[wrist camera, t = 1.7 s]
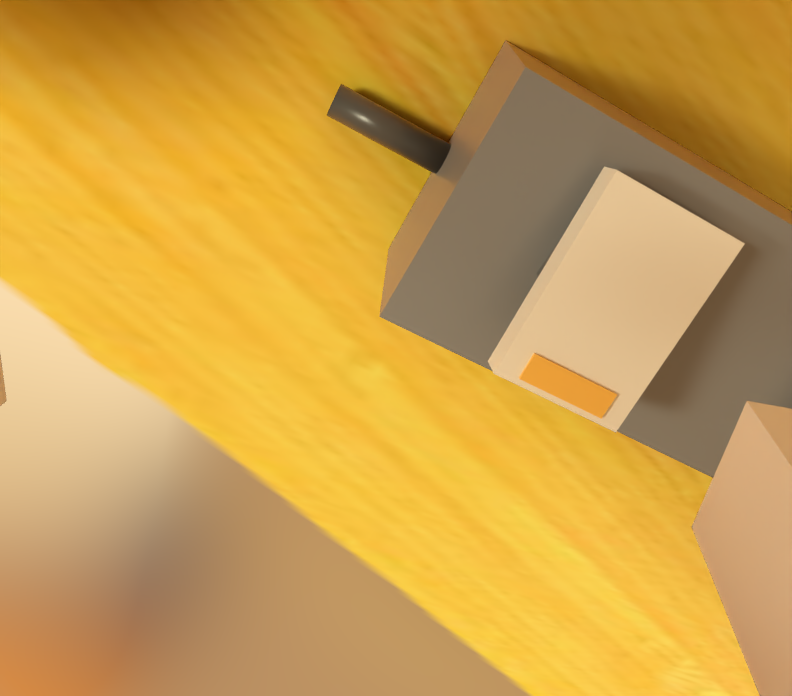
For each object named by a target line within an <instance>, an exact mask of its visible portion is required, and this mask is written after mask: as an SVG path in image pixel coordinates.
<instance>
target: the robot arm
mask: <svg viewBox="0 0 792 696" xmlns="http://www.w3.org/2000/svg"><path fill="white" fill-rule="evenodd" d="M5 402H6V393H5V386H4V378H3V371H2V363H1V356H0V406H1V405H2V404H3V403H5ZM692 529H693V532H694V534H695V537H696V539H697V542H698V544H699V547H700V549H701V552H702V554H703V557H704V559H705V561H706V564H707V566H708V569H709V571H710V574H711V576H712V579H713V581H714V584H715V586H716V589H717V591H718V594H719V596H720V598H721V601H722V603H723V606H724V608H725V611H726V613H727V616H728V618H729V621H730V623H731V626H732V628H733V631H734V633H735V636H736V638H737V640H738V643H739V645H740V648H741V650H742V653H743V655H744V658H745V660H746V663H747V665H748V668H749V670H750V673H751V675H752V677H753V680H754V682H755V685H756V687H757V690H758V692H759V695H760V696H792V409H790V408H785V407H779V406H774V405H768V404H762V403H757V402H751V401H747V402H746V404H745V406H744V408H743V411H742V413H741V415H740V418H739V420H738V422H737V424H736V427H735V429H734V431H733V434H732V436H731V438H730V440H729V443H728V445H727V447H726V450H725V452H724V454H723V456H722V459H721V461H720V463H719V466H718V468H717V470H716V472H715V475H714V477H713V479H712V482H711V484H710V486H709V488H708V491H707V493H706V495H705V498H704V500H703V502H702V504H701V507H700V509H699V511H698V514H697V516H696V518H695V521H694V523H693V525H692Z"/></svg>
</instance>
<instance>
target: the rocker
mask: <svg viewBox="0 0 792 696" xmlns="http://www.w3.org/2000/svg"><path fill="white" fill-rule="evenodd" d="M744 244H745V243H743V242H741V241H740V240H738V239H736V238H734V237H733V236H731V235H729V234H727V233H726V232H724V231H722V230H720V229H719V228H717V227H715V226H714V225H712V224H710V223H708V222H707V221H705V220H703V219H701V218H700V217H698V216H696V215H694V214H693V213H691V212H689V211H687V210H686V209H684V208H682V207H681V206H679V205H677V204H675V203H674V202H672V201H670V200H668V199H667V198H665V197H663V196H661V195H660V194H658V193H656V192H655V191H653V190H651V189H649V188H648V187H646V186H644V185H642V184H641V183H639V182H637V181H635V180H634V179H632V178H630V177H629V176H627V175H625V174H623V173H622V172H620V171H618V170H616V169H612V168H608V167H605V166H604V168H603V169H602V171H601V173H600V174H599V176H598V178H597V179H596V181H595V183H594V184H593V186H592V188H591V189H590V191H589V193H588V194H587V196H586V198H585V199H584V201H583V203H582V205H581V206H580V208H579V210H578V211H577V213H576V215H575V216H574V218H573V220H572V221H571V223H570V225H569V226H568V228H567V230H566V231H565V233H564V235H563V236H562V238H561V240H560V241H559V243H558V245H557V246H556V248H555V250H554V251H553V253H552V255H551V256H550V258H549V260H548V261H547V263H546V265H545V266H544V268H543V270H542V271H541V273H540V275H539V276H538V278H537V280H536V281H535V283H534V285H533V286H532V288H531V290H530V291H529V293H528V295H527V296H526V298H525V300H524V301H523V303H522V305H521V306H520V308H519V310H518V311H517V313H516V315H515V316H514V318H513V320H512V321H511V323H510V325H509V327H508V328H507V330H506V332H505V333H504V335H503V337H502V338H501V340H500V342H499V343H498V345H497V347H496V348H495V350H494V352H493V353H492V355H491V357H490V358H489V360H488V363H489V365H490V367H491V369H492V371H493V373H494V374H496V375H498V376H500V377H502V378H504V379H506V380H508V381H510V382H512V383H514V384H516V385H519V386H521V387H523V388H525V389H527V390H529V391H531V392H533V393H535V394H537V395H539V396H541V397H543V398H545V399H548V400H550V401H552V402H554V403H556V404H558V405H560V406H562V407H564V408H566V409H568V410H570V411H572V412H574V413H577V414H579V415H581V416H583V417H585V418H587V419H589V420H591V421H593V422H595V423H597V424H599V425H601V426H603V427H606V428H608V429H610V430H612V431H614V432H617V430H618V429H619V427H620V426H621V424H622V423H623V421H624V420H625V418H626V417H627V415H628V414H629V413H630V411H631V410H632V408H633V407H634V405H635V404H636V402H637V401H638V399H639V398H640V396H641V395H642V393H643V392H644V391H645V389H646V388H647V386H648V385H649V383H650V382H651V380H652V379H653V377H654V376H655V374H656V373H657V372H658V370H659V369H660V367H661V366H662V364H663V363H664V361H665V360H666V358H667V357H668V355H669V354H670V353H671V351H672V350H673V348H674V347H675V345H676V344H677V342H678V341H679V339H680V338H681V336H682V335H683V334H684V332H685V331H686V329H687V328H688V326H689V325H690V323H691V322H692V320H693V319H694V317H695V316H696V314H697V313H698V312H699V310H700V309H701V307H702V306H703V304H704V303H705V301H706V300H707V298H708V297H709V295H710V294H711V293H712V291H713V290H714V288H715V287H716V285H717V284H718V282H719V281H720V279H721V278H722V276H723V275H724V274H725V272H726V271H727V269H728V268H729V266H730V265H731V263H732V262H733V260H734V259H735V257H736V256H737V254H738V253H739V252H740V250H741V249H742V247H743V246H744Z"/></svg>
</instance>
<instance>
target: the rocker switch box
mask: <svg viewBox="0 0 792 696" xmlns="http://www.w3.org/2000/svg"><path fill="white" fill-rule="evenodd" d="M327 116H329V117H331V118H333V119H335V120H336V121H338V122H340V123H342V124H344V125H346V126H348V127H349V128H351V129H353V130H355V131H357V132H359V133H360V134H362V135H364V136H366V137H368V138H370V139H372V140H373V141H375V142H377V143H379V144H381V145H383V146H385V147H386V148H388V149H390V150H392V151H394V152H396V153H398V154H399V155H401V156H403V157H405V158H407V159H409V160H410V161H412V162H414V163H416V164H418V165H420V166H422V167H423V168H425V169H427V170H429V171H431V172H432V173H431V174H430V176H429V178H428V180H427V182H426V183H425V185H424V187H423V189H422V191H421V192H420V194H419V196H418V198H417V199H416V201H415V203H414V205H413V207H412V208H411V210H410V212H409V214H408V216H407V217H406V219H405V221H404V223H403V224H402V226H401V228H400V230H399V232H398V233H397V235H396V237H395V239H394V240H393V242H392V244H391V246H390V248H389V251H388V258H387V266H386V273H385V280H384V287H383V294H382V302H381V309H380V317H382V318H384V319H386V320H388V321H390V322H392V323H394V324H396V325H398V326H400V327H402V328H404V329H406V330H409V331H411V332H413V333H415V334H417V335H419V336H421V337H423V338H425V339H427V340H429V341H431V342H433V343H435V344H438V345H440V346H442V347H444V348H446V349H448V350H450V351H452V352H454V353H456V354H458V355H460V356H462V357H464V358H466V359H469V360H471V361H473V362H475V363H477V364H479V365H481V366H483V367H485V368H487V369H489V370H491V371H492V369H491V367H490V365H489V363H488V360H489V358H490V357H491V355H492V353H493V352H494V350H495V348H496V347H497V345H498V343H499V342H500V340H501V338H502V337H503V335H504V333H505V332H506V330H507V328H508V327H509V325H510V323H511V321H512V320H513V318H514V316H515V315H516V313H517V311H518V310H519V308H520V306H521V305H522V303H523V301H524V300H525V298H526V296H527V295H528V293H529V291H530V290H531V288H532V286H533V285H534V283H535V281H536V280H537V278H538V276H539V275H540V273H541V271H542V270H543V268H544V266H545V265H546V263H547V261H548V260H549V258H550V256H551V255H552V253H553V251H554V250H555V248H556V246H557V245H558V243H559V241H560V240H561V238H562V236H563V235H564V233H565V231H566V230H567V228H568V226H569V225H570V223H571V221H572V220H573V218H574V216H575V215H576V213H577V211H578V210H579V208H580V206H581V205H582V203H583V201H584V199H585V198H586V196H587V194H588V193H589V191H590V189H591V188H592V186H593V184H594V183H595V181H596V179H597V178H598V176H599V174H600V173H601V171H602V169H603V168H604V166H605V167H608V168H612V169H616V170H618V171H620V172H622V173H623V174H625V175H627V176H629V177H630V178H632V179H634V180H635V181H637V182H639V183H641V184H642V185H644V186H646V187H648V188H649V189H651V190H653V191H655V192H656V193H658V194H660V195H661V196H663V197H665V198H667V199H668V200H670V201H672V202H674V203H675V204H677V205H679V206H681V207H682V208H684V209H686V210H687V211H689V212H691V213H693V214H694V215H696V216H698V217H700V218H701V219H703V220H705V221H707V222H708V223H710V224H712V225H714V226H715V227H717V228H719V229H720V230H722V231H724V232H726V233H727V234H729V235H731V236H733V237H734V238H736V239H738V240H740V241H741V242H743V243H745V244H744V246H743V247H742V249H741V250H740V252H739V253H738V254H737V256H736V257H735V259H734V260H733V262H732V263H731V265H730V266H729V268H728V269H727V271H726V272H725V274H724V275H723V276H722V278H721V279H720V281H719V282H718V284H717V285H716V287H715V288H714V290H713V291H712V293H711V294H710V295H709V297H708V298H707V300H706V301H705V303H704V304H703V306H702V307H701V309H700V310H699V312H698V313H697V314H696V316H695V317H694V319H693V320H692V322H691V323H690V325H689V326H688V328H687V329H686V331H685V332H684V334H683V335H682V336H681V338H680V339H679V341H678V342H677V344H676V345H675V347H674V348H673V350H672V351H671V353H670V354H669V355H668V357H667V358H666V360H665V361H664V363H663V364H662V366H661V367H660V369H659V370H658V372H657V373H656V374H655V376H654V377H653V379H652V380H651V382H650V383H649V385H648V386H647V388H646V389H645V391H644V392H643V393H642V395H641V396H640V398H639V399H638V401H637V402H636V404H635V405H634V407H633V408H632V410H631V411H630V413H629V414H628V415H627V417H626V418H625V420H624V421H623V423H622V424H621V426H620V427H619V429H618V430H617V431H618V432H620V433H622V434H624V435H626V436H628V437H630V438H632V439H634V440H636V441H638V442H640V443H642V444H644V445H647V446H649V447H651V448H653V449H655V450H657V451H659V452H661V453H663V454H665V455H667V456H669V457H671V458H673V459H676V460H678V461H680V462H682V463H684V464H686V465H688V466H690V467H692V468H694V469H696V470H698V471H700V472H702V473H705V474H707V475H709V476H711V477H714V475H715V472H716V470H717V468H718V466H719V463H720V461H721V459H722V456H723V454H724V452H725V450H726V447H727V445H728V443H729V440H730V438H731V436H732V434H733V431H734V429H735V427H736V424H737V422H738V420H739V418H740V415H741V413H742V411H743V408H744V406H745V404H746V402H747V401H751V402H757V403H762V404H768V405H774V406H779V407H785V408H790V409H792V212H791V211H790V210H788V209H786V208H785V207H783V206H781V205H780V204H778V203H776V202H775V201H773V200H771V199H770V198H768V197H766V196H765V195H763V194H761V193H760V192H758V191H756V190H755V189H753V188H751V187H750V186H748V185H746V184H745V183H743V182H741V181H740V180H738V179H736V178H735V177H733V176H731V175H730V174H728V173H726V172H725V171H723V170H721V169H720V168H718V167H716V166H715V165H713V164H711V163H710V162H708V161H706V160H705V159H703V158H701V157H700V156H698V155H696V154H695V153H693V152H691V151H690V150H688V149H686V148H684V147H683V146H681V145H679V144H678V143H676V142H674V141H673V140H671V139H669V138H668V137H666V136H664V135H663V134H661V133H659V132H658V131H656V130H654V129H653V128H651V127H649V126H648V125H646V124H644V123H643V122H641V121H639V120H638V119H636V118H634V117H633V116H631V115H629V114H628V113H626V112H624V111H623V110H621V109H619V108H618V107H616V106H614V105H613V104H611V103H609V102H608V101H606V100H604V99H603V98H601V97H599V96H598V95H596V94H594V93H593V92H591V91H589V90H588V89H586V88H584V87H583V86H581V85H579V84H578V83H576V82H574V81H573V80H571V79H569V78H568V77H566V76H564V75H563V74H561V73H559V72H558V71H556V70H554V69H553V68H551V67H549V66H548V65H546V64H544V63H543V62H541V61H539V60H538V59H536V58H534V57H533V56H531V55H529V54H528V53H526V52H524V51H523V50H521V49H519V48H518V47H516V46H514V45H513V44H511V43H509V42H508V41H505V43H504V44H503V46H502V48H501V50H500V51H499V53H498V55H497V57H496V59H495V60H494V62H493V64H492V66H491V67H490V69H489V71H488V73H487V75H486V76H485V78H484V80H483V82H482V84H481V85H480V87H479V89H478V91H477V92H476V94H475V96H474V98H473V100H472V101H471V103H470V105H469V107H468V108H467V110H466V112H465V114H464V116H463V117H462V119H461V121H460V123H459V125H458V126H457V128H456V130H455V132H454V133H453V135H452V137H451V139H450V141H449V142H448V143H447V142H446V141H444V140H442V139H440V138H438V137H436V136H435V135H433V134H431V133H429V132H427V131H426V130H424V129H422V128H420V127H418V126H417V125H415V124H413V123H411V122H409V121H408V120H406V119H404V118H402V117H400V116H398V115H397V114H395V113H393V112H391V111H389V110H388V109H386V108H384V107H382V106H380V105H379V104H377V103H375V102H373V101H371V100H370V99H368V98H366V97H364V96H362V95H360V94H359V93H357V92H355V91H353V90H351V89H350V88H348V87H346V86H344V85H342V84H341V86H340V87H339V89H338V92H337V94H336V96H335V98H334V100H333V102H332V104H331V106H330V109H329V111H328V113H327Z"/></svg>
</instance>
